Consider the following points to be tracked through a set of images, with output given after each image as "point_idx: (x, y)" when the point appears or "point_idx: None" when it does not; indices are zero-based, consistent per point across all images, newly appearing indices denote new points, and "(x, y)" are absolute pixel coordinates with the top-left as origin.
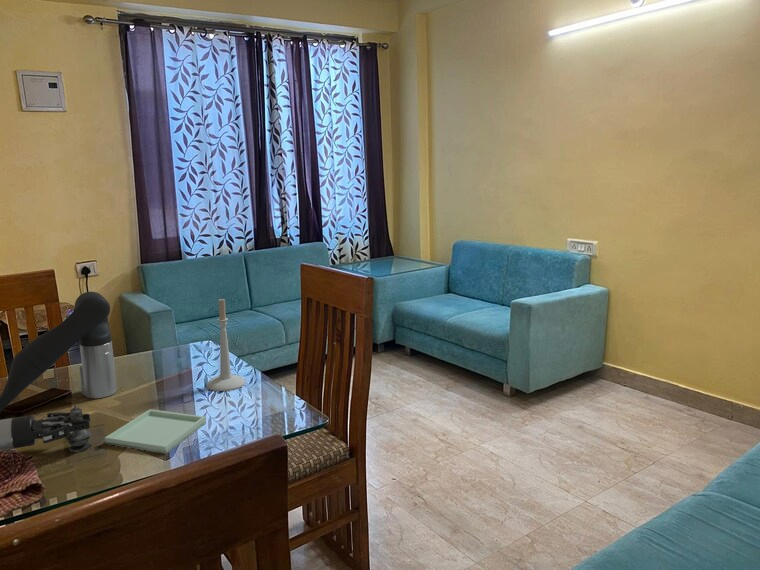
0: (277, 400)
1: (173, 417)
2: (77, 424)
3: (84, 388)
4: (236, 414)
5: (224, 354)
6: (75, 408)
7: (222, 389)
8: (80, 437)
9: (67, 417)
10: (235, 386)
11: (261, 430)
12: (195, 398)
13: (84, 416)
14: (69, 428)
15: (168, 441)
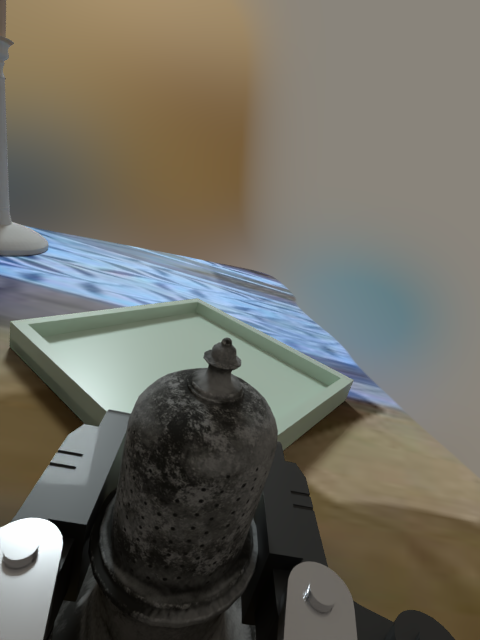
0: (163, 259)
1: (120, 323)
2: (303, 526)
3: None
4: (183, 288)
5: (4, 153)
6: (238, 382)
7: (30, 249)
8: (238, 616)
9: (49, 605)
10: (45, 241)
11: (275, 301)
12: (8, 275)
13: (122, 447)
14: (387, 626)
15: (287, 373)
